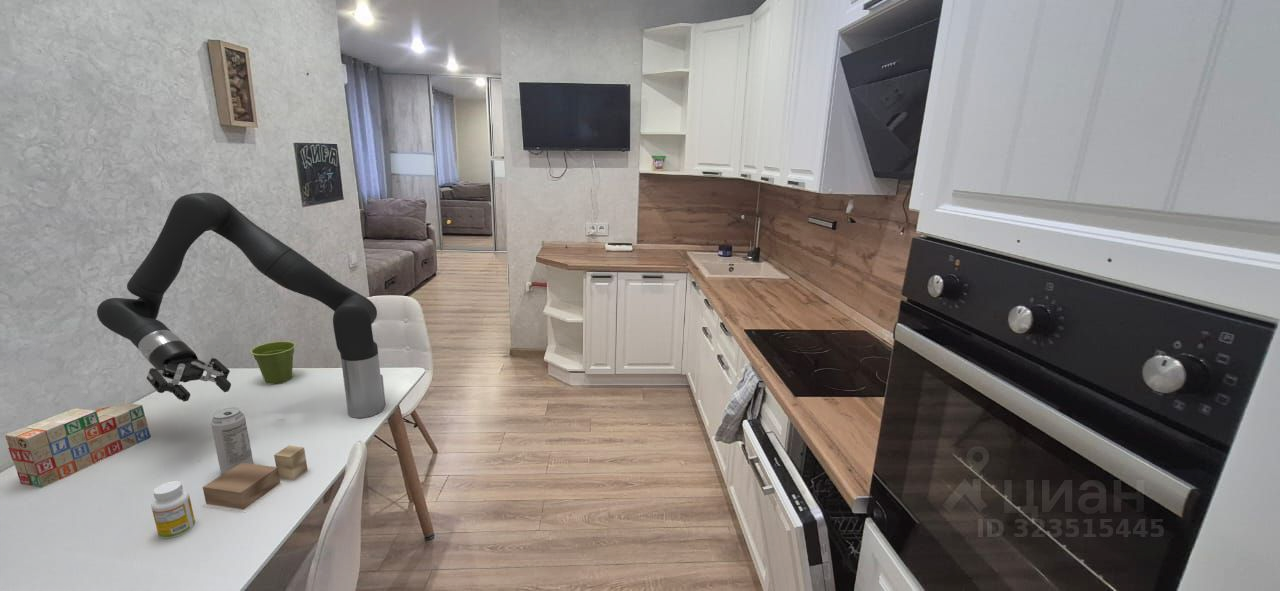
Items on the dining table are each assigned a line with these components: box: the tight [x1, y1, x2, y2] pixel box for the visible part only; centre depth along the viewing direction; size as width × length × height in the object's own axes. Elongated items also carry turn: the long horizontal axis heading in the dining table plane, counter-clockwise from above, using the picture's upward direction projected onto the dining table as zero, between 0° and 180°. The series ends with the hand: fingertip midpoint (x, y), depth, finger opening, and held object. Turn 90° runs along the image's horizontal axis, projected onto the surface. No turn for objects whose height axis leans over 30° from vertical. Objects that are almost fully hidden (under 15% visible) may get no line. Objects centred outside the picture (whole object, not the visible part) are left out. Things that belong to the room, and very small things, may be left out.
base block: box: [202, 463, 281, 509], centre depth 109 cm, size 9×9×4 cm
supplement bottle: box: [151, 480, 196, 539], centre depth 98 cm, size 5×5×10 cm
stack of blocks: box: [4, 402, 151, 488], centre depth 119 cm, size 21×6×12 cm, turn 169°
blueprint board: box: [202, 480, 287, 513], centre depth 111 cm, size 16×11×1 cm
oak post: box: [273, 444, 308, 481], centre depth 116 cm, size 4×4×6 cm
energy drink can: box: [210, 406, 255, 475], centre depth 116 cm, size 6×6×15 cm
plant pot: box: [249, 340, 297, 385], centre depth 163 cm, size 12×12×11 cm
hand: (208, 393), depth 119 cm, fingers open, 8 cm apart
